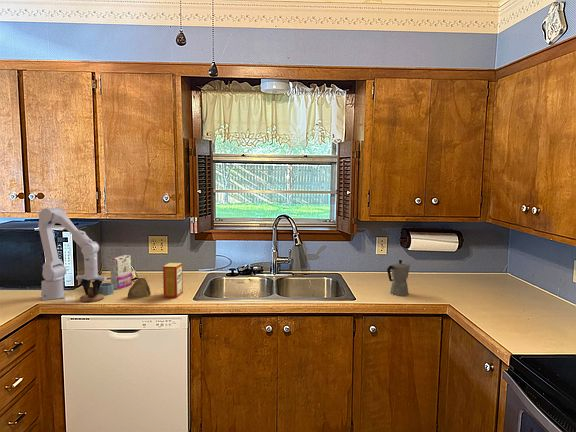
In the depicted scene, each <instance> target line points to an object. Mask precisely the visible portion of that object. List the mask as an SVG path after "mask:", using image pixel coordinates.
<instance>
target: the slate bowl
mask: <svg viewBox="0 0 576 432" xmlns="http://www.w3.org/2000/svg"><path fill="white" fill-rule="evenodd" d="M114 290H115V289H114V284H113V283H111V282H102V283H101V285H100V288H99V291H98V294H103V295H104V296H109V295H113V294H114Z"/></svg>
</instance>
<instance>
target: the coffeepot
mask: <svg viewBox="0 0 576 432" xmlns="http://www.w3.org/2000/svg"><path fill="white" fill-rule="evenodd" d="M402 262H403V260H401V259H399V260H398V263H393V264H391V265H389V266H388V267H387V268H386V272H387V276H388V280H389V282H392V283H391V287H390V290H389V291H390V292H389V293H390V294H391V295H392V294H393V296H395V295H396V297H407V296H409V288H408V282H407V280H408V278H409V271H410V267H411V264H410V265H409V264H407V263H402Z"/></svg>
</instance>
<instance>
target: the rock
mask: <svg viewBox="0 0 576 432" xmlns="http://www.w3.org/2000/svg"><path fill="white" fill-rule="evenodd" d="M148 283H149V282H148V281H147V280H146V278H145V277H139V278H138V279H136V280H135V281H134V283H132V286H131V287H129V290H128V293H127V297H126V298H127V299H132V298H143V297H149V296H151V295H152V293H151V290H150V286H149V284H148Z"/></svg>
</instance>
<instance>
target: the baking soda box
mask: <svg viewBox="0 0 576 432" xmlns="http://www.w3.org/2000/svg"><path fill="white" fill-rule="evenodd" d="M162 268H163V269H162V270H163V271H162V278H163V282H162V283H163V286H162V287H163V298H164V299H177V298H178V297H180V296H181V295H182V294H184V293H183V290H184V289H183V285H184V284H183V263H182V262H168V263H165V265H163V266H162Z"/></svg>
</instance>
